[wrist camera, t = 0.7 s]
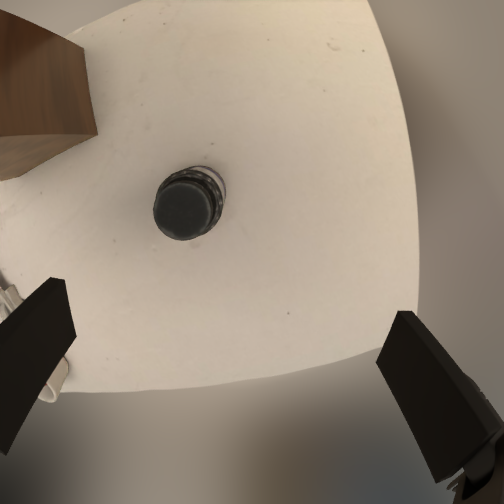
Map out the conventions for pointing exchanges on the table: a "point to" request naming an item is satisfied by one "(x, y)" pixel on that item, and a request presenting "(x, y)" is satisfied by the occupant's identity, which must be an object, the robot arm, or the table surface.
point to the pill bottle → (189, 202)
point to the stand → (40, 96)
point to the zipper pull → (9, 301)
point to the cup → (54, 382)
